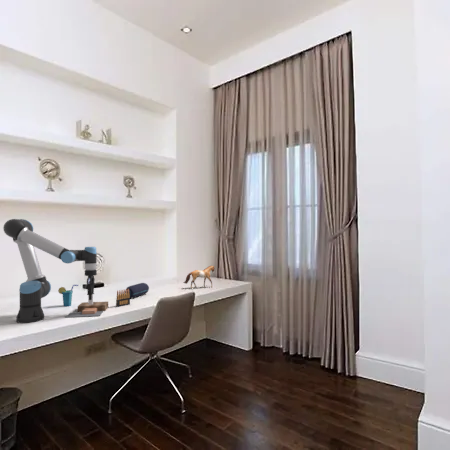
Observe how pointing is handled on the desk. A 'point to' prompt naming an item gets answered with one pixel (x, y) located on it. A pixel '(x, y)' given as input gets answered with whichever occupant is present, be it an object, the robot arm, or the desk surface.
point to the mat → (79, 314)
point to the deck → (93, 306)
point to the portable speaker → (137, 290)
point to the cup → (66, 295)
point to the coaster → (89, 311)
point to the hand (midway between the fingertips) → (90, 304)
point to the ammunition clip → (122, 298)
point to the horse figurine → (200, 275)
